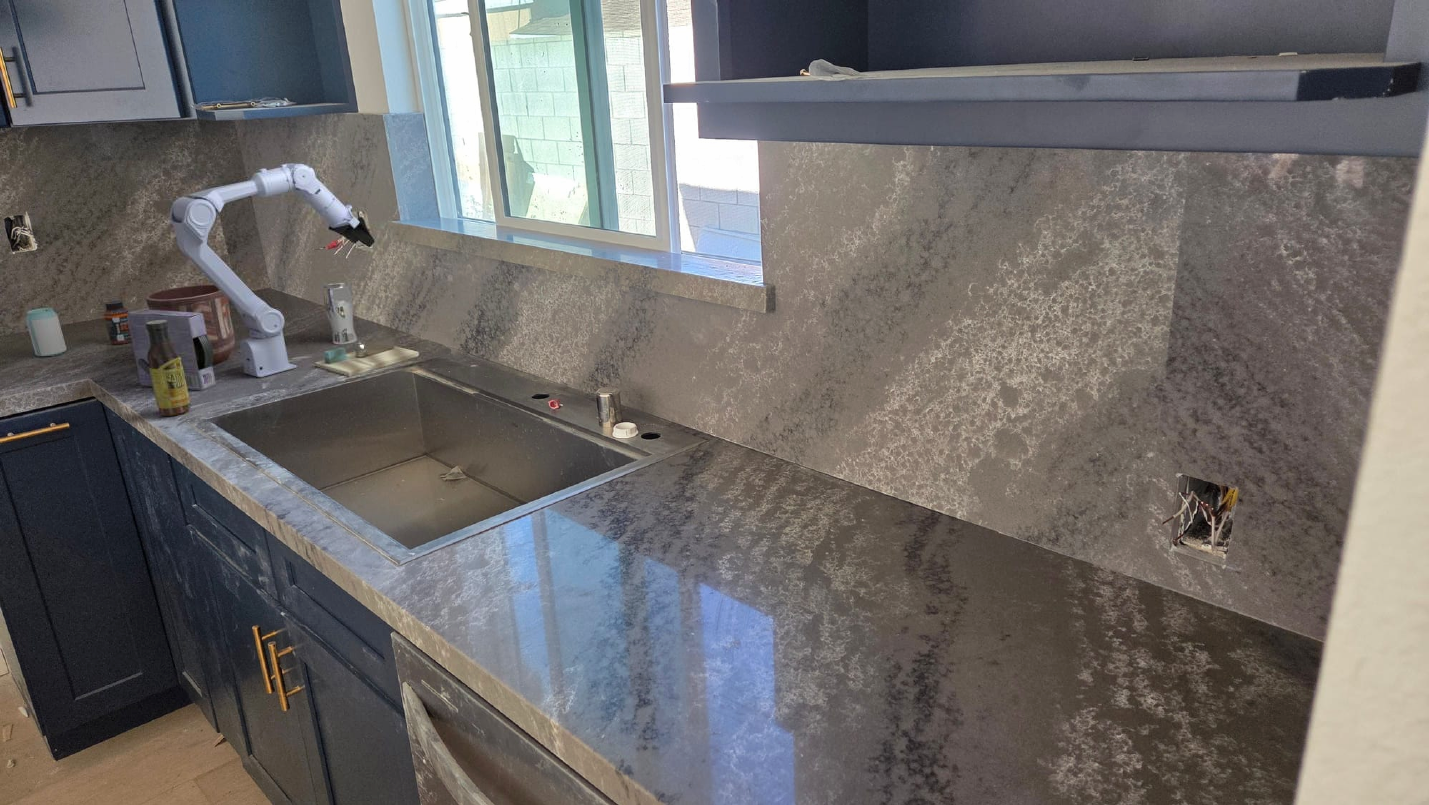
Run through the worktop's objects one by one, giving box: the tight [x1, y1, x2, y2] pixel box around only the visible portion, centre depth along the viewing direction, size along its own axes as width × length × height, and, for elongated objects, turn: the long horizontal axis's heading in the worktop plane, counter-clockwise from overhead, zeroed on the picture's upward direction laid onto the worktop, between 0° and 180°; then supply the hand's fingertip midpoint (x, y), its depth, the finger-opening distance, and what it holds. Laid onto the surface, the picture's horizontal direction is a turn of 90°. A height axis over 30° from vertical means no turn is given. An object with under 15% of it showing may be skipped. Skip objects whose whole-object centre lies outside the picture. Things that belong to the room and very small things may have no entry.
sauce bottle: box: [146, 320, 191, 417], centre depth 211 cm, size 7×6×20 cm
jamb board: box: [314, 345, 420, 377], centre depth 244 cm, size 19×15×4 cm
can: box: [25, 307, 67, 357], centre depth 264 cm, size 7×7×12 cm
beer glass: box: [321, 282, 358, 345], centre depth 261 cm, size 7×7×15 cm
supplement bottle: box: [103, 300, 132, 345], centre depth 273 cm, size 6×6×11 cm
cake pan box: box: [127, 308, 217, 392], centre depth 230 cm, size 19×5×18 cm, turn 72°
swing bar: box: [353, 336, 395, 358], centre depth 246 cm, size 10×3×3 cm, turn 141°
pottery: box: [145, 283, 236, 366], centre depth 249 cm, size 18×18×18 cm
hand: (364, 242), depth 251 cm, fingers open, 7 cm apart
